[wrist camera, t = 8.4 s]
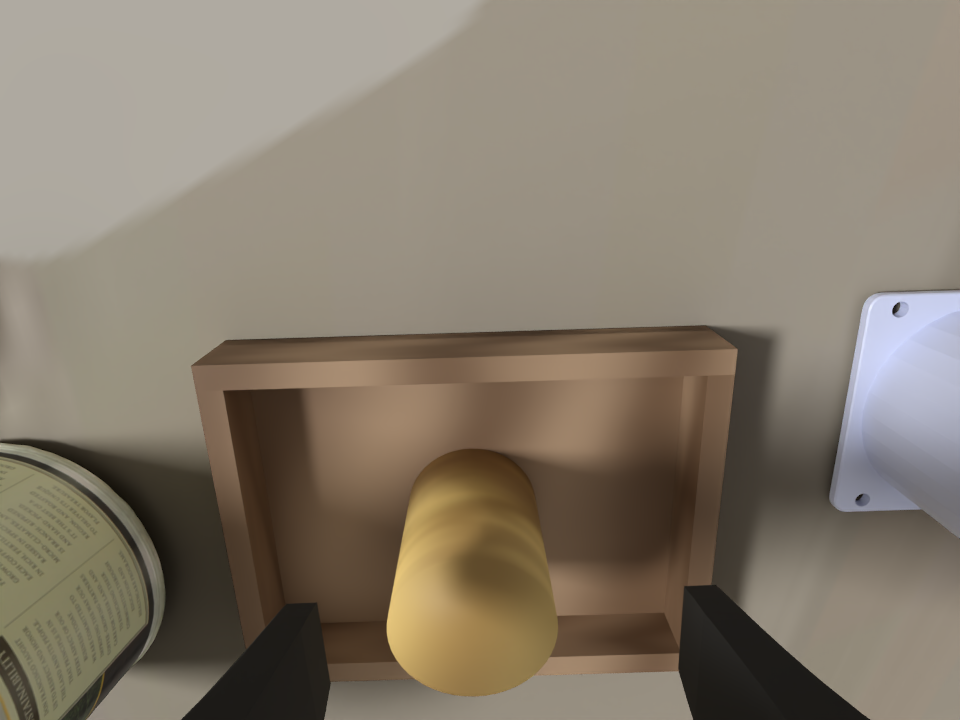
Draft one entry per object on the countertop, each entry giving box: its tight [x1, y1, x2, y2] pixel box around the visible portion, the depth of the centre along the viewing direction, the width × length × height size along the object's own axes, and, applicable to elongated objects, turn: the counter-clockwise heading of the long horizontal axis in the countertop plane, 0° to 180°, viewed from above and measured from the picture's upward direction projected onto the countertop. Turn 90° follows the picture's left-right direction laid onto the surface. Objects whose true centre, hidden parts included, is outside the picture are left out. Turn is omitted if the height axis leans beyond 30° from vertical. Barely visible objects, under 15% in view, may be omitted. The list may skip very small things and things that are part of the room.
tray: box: [191, 326, 738, 682], centre depth 21 cm, size 16×12×3 cm
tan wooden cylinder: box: [387, 449, 558, 696], centre depth 19 cm, size 4×4×6 cm
